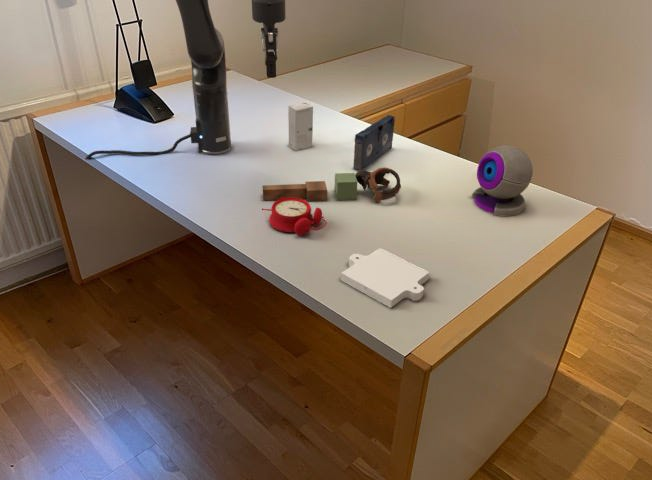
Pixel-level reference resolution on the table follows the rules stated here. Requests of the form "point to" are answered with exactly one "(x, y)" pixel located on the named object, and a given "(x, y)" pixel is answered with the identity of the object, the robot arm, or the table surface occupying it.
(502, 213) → the webcam
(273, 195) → the wooden stamp
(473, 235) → the table surface
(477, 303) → the table surface
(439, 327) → the table surface
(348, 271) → the mounting plate
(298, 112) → the cosmetic box
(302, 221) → the alarm clock
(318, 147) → the table surface
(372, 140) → the vhs cassette tape
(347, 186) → the block
